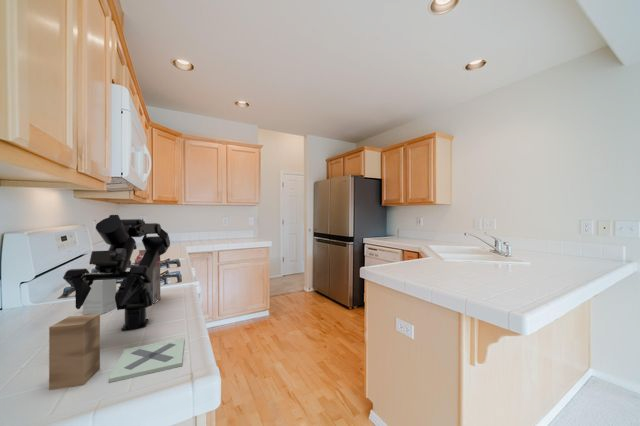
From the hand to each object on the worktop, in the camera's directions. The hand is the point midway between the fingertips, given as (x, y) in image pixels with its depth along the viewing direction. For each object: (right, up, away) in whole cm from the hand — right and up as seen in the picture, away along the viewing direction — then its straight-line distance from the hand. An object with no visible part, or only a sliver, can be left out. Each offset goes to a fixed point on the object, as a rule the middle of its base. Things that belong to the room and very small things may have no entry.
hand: (99, 306), depth 66 cm
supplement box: (-28, -14, +33) cm, 46 cm away
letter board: (+13, -13, 0) cm, 19 cm away
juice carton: (-16, -14, +42) cm, 47 cm away
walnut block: (+2, -13, -8) cm, 15 cm away
